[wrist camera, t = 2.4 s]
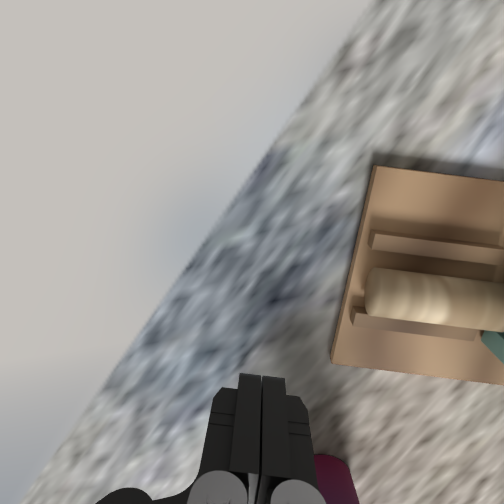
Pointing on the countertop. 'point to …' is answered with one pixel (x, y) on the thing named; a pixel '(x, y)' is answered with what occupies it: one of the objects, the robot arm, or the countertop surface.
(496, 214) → the board
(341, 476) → the cup
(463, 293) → the dowel
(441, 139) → the countertop surface
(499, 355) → the block
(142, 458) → the countertop surface
